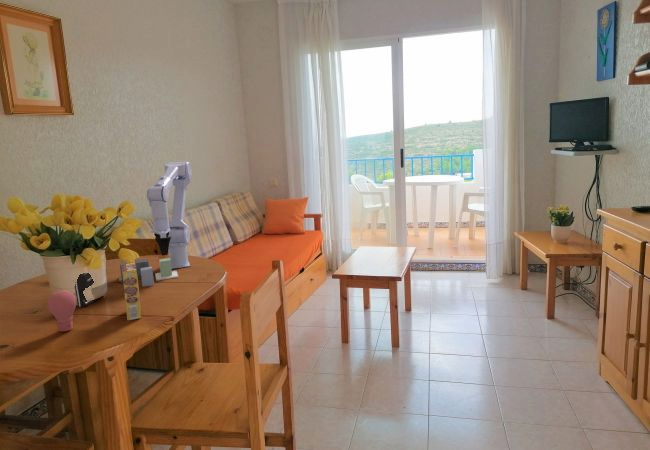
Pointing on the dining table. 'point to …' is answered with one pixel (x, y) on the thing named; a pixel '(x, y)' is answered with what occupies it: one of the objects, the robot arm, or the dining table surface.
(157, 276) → the plate
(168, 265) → the sage part
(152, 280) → the blue-grey part
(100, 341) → the dining table surface
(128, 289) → the candy box
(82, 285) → the black curved piece
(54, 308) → the light bulb
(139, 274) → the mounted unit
